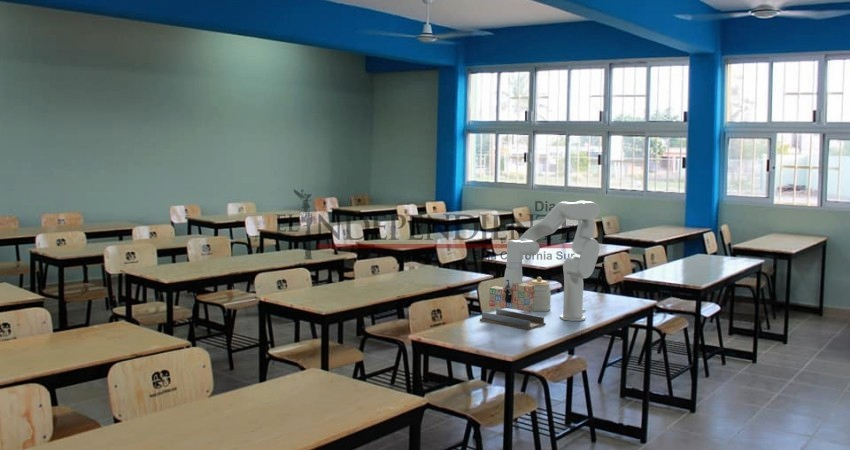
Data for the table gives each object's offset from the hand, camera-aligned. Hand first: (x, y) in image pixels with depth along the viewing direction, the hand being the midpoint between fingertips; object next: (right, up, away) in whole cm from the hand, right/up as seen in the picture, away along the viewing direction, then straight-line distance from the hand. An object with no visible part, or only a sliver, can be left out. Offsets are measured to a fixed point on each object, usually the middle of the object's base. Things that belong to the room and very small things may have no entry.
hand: (512, 301), depth 370 cm
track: (0, -11, +1) cm, 11 cm away
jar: (+18, -8, +35) cm, 40 cm away
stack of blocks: (-1, -4, +1) cm, 4 cm away
